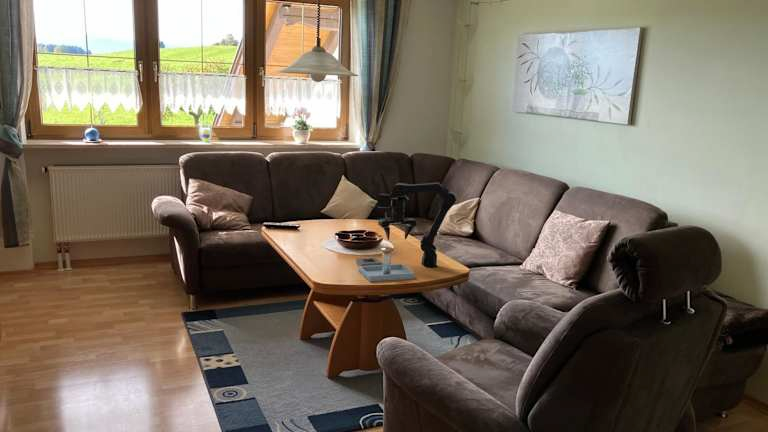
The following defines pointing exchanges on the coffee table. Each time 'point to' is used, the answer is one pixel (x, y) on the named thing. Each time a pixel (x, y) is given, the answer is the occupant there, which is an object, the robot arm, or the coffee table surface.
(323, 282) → the coffee table surface
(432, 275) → the coffee table surface
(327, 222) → the coffee table surface
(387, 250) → the pin
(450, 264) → the coffee table surface
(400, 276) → the tray
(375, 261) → the block
